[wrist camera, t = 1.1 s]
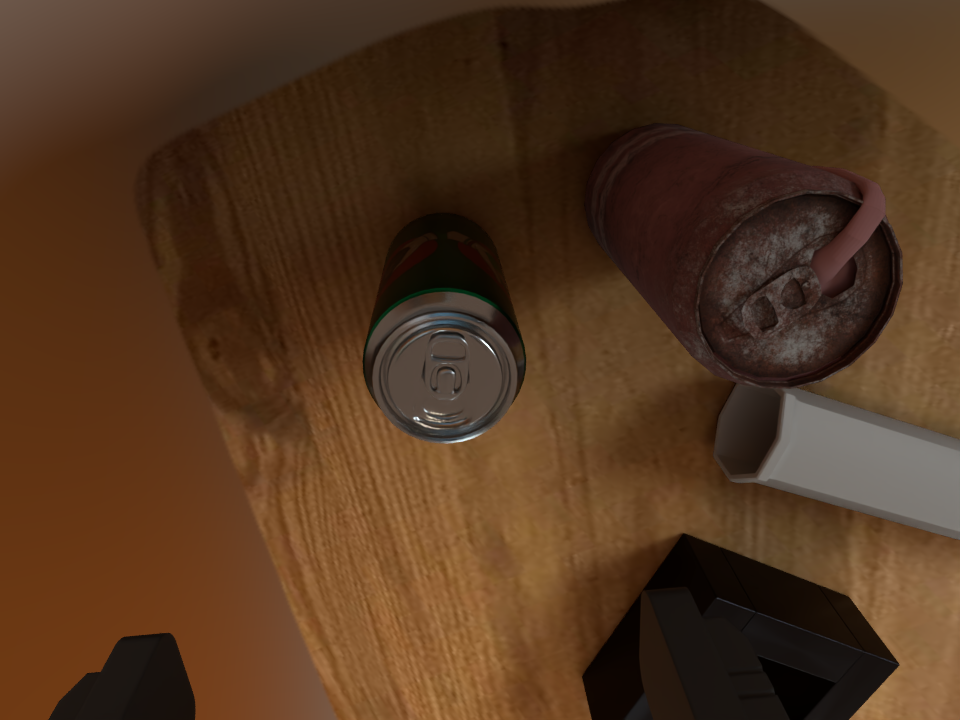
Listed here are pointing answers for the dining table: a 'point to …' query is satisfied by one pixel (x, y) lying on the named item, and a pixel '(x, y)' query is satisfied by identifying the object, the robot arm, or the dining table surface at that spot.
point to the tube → (841, 456)
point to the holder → (754, 637)
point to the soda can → (443, 333)
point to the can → (748, 252)
